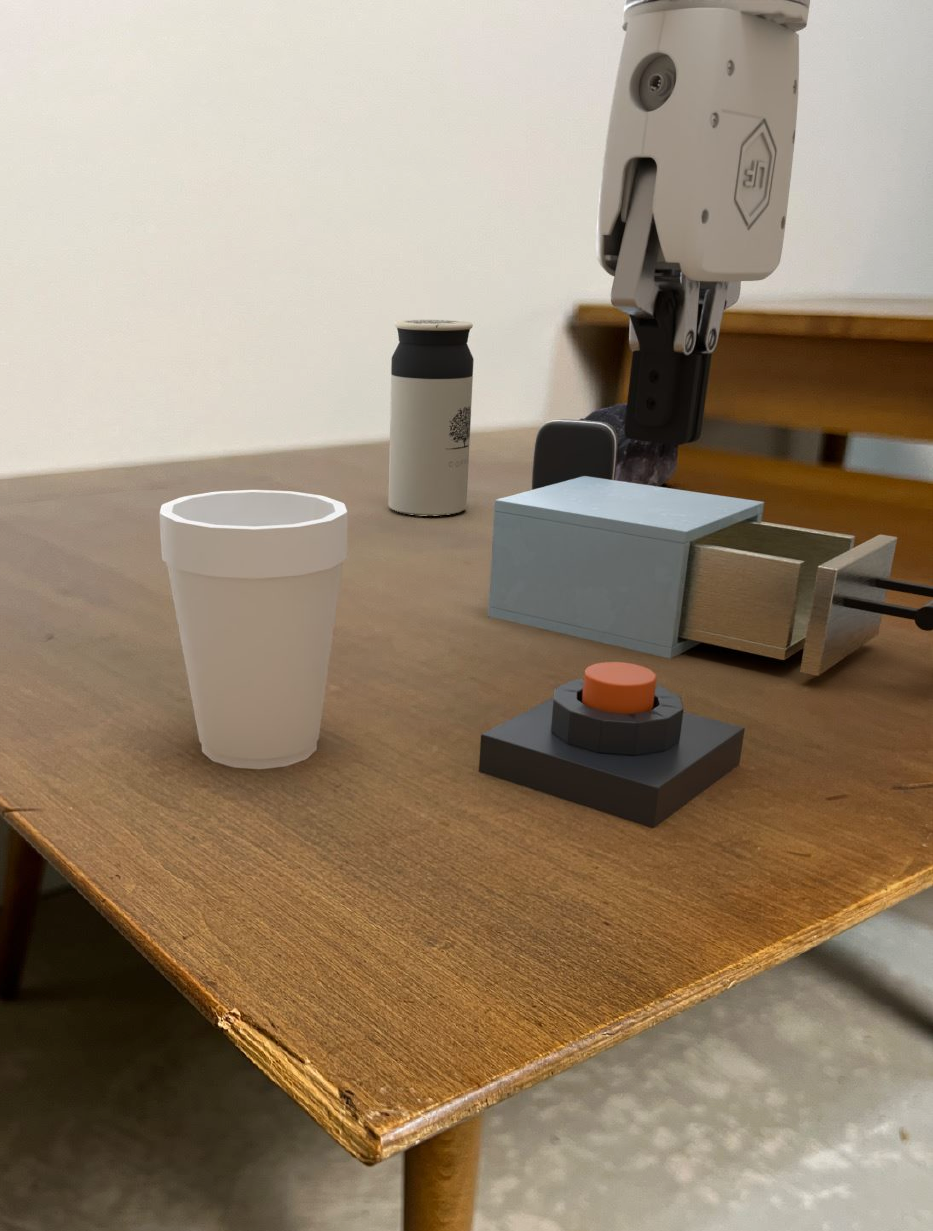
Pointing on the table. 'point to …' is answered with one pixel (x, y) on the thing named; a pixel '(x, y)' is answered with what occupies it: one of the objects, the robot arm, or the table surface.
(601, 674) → the button
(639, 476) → the crystal cluster
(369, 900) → the table surface
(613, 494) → the light blue drawer box
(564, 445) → the battery charger
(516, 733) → the control block
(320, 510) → the foam cup
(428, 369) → the travel mug
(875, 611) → the metal drawer
